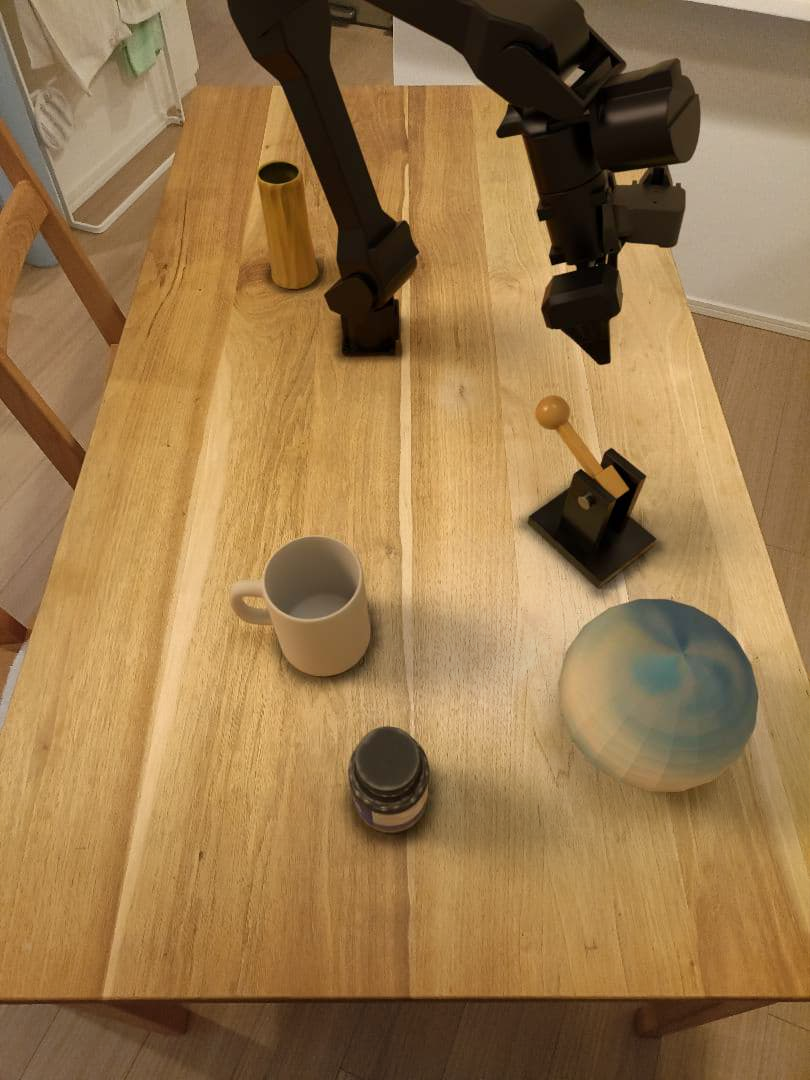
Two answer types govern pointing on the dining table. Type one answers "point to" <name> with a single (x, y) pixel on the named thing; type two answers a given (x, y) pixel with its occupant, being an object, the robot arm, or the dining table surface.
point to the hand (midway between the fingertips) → (608, 335)
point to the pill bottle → (389, 779)
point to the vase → (287, 224)
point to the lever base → (596, 522)
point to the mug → (311, 604)
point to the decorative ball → (658, 695)
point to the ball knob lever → (577, 443)
